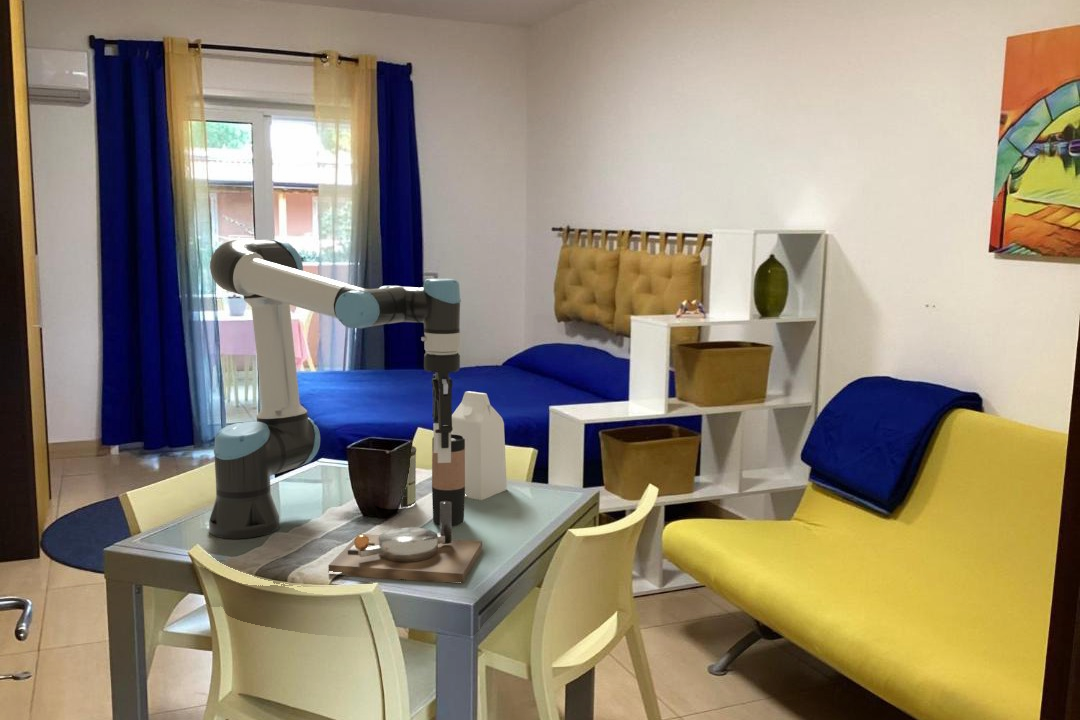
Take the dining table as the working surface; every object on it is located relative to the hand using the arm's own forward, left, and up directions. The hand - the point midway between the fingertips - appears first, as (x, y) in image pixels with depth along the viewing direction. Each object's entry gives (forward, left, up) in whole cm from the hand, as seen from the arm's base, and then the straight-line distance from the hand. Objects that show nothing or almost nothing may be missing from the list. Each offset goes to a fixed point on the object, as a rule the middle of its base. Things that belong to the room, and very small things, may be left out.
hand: (442, 457), depth 200 cm
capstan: (-4, -12, -17) cm, 21 cm away
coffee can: (-18, +26, -19) cm, 37 cm away
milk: (-1, +41, -19) cm, 45 cm away
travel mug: (-2, +15, -19) cm, 25 cm away
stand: (-4, -12, -19) cm, 23 cm away
